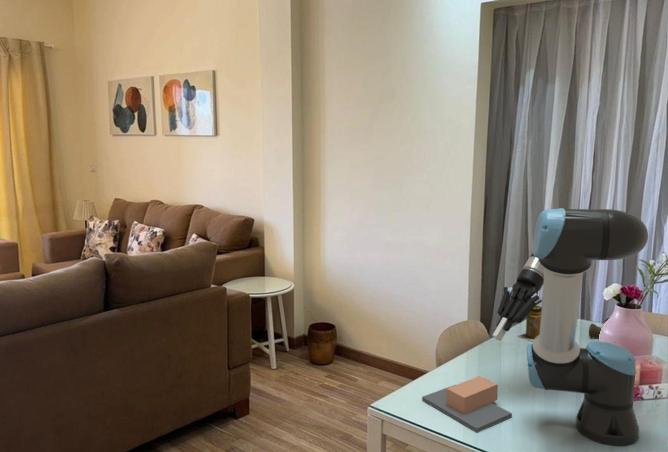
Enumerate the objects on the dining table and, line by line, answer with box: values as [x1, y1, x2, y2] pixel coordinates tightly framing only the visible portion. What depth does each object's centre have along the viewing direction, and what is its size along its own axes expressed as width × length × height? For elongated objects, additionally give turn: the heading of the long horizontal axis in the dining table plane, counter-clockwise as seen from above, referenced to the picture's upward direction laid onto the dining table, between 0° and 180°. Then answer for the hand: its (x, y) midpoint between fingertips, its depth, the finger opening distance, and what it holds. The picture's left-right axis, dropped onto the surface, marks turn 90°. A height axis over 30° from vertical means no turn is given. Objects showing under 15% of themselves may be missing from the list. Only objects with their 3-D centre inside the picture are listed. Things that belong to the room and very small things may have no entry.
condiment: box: [518, 305, 542, 343], centre depth 212 cm, size 7×8×12 cm
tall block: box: [446, 375, 499, 414], centre depth 161 cm, size 7×5×14 cm
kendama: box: [588, 317, 610, 339], centre depth 212 cm, size 6×10×20 cm
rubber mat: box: [421, 384, 513, 433], centre depth 160 cm, size 22×14×1 cm, turn 32°
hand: (496, 338), depth 164 cm, fingers closed
